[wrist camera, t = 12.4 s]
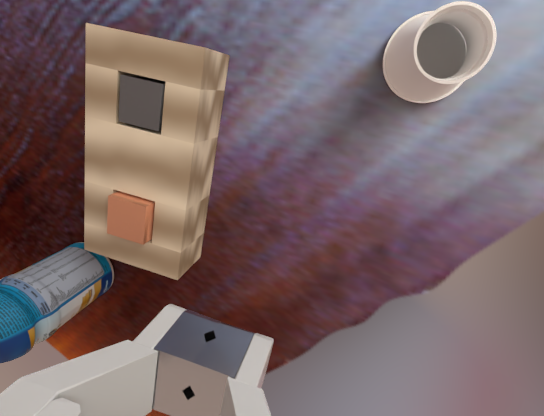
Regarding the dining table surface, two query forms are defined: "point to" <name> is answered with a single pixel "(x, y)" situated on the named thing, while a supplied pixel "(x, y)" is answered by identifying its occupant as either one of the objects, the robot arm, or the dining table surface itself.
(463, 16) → the vase
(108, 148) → the maple housing
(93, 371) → the robot arm
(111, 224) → the terracotta plug
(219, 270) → the dining table surface
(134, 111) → the charcoal plug
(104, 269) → the beverage bottle
